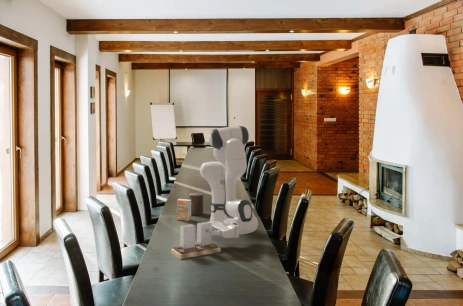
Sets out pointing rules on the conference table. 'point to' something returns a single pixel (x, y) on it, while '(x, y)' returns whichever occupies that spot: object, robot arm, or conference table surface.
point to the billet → (187, 237)
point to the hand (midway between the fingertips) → (206, 231)
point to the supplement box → (183, 209)
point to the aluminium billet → (204, 235)
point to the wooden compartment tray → (194, 251)
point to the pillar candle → (196, 203)
